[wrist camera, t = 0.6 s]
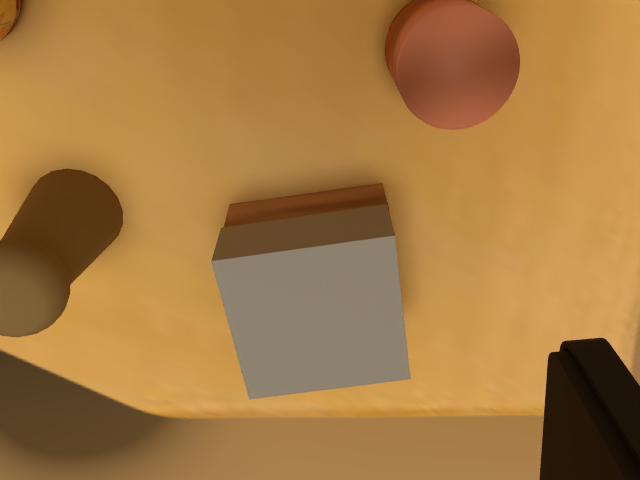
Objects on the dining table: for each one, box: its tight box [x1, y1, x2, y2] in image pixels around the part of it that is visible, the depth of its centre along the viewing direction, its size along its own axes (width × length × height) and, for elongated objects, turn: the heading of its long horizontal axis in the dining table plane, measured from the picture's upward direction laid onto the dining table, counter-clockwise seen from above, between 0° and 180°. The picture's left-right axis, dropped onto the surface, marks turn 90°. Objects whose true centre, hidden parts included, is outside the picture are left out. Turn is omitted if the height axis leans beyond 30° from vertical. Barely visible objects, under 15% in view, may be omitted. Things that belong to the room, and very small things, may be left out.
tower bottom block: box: [224, 183, 389, 227], centre depth 41 cm, size 10×10×4 cm
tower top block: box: [212, 204, 410, 399], centre depth 37 cm, size 10×10×4 cm
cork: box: [0, 169, 123, 337], centre depth 35 cm, size 6×6×11 cm
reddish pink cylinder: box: [385, 0, 520, 130], centre depth 33 cm, size 6×6×6 cm
